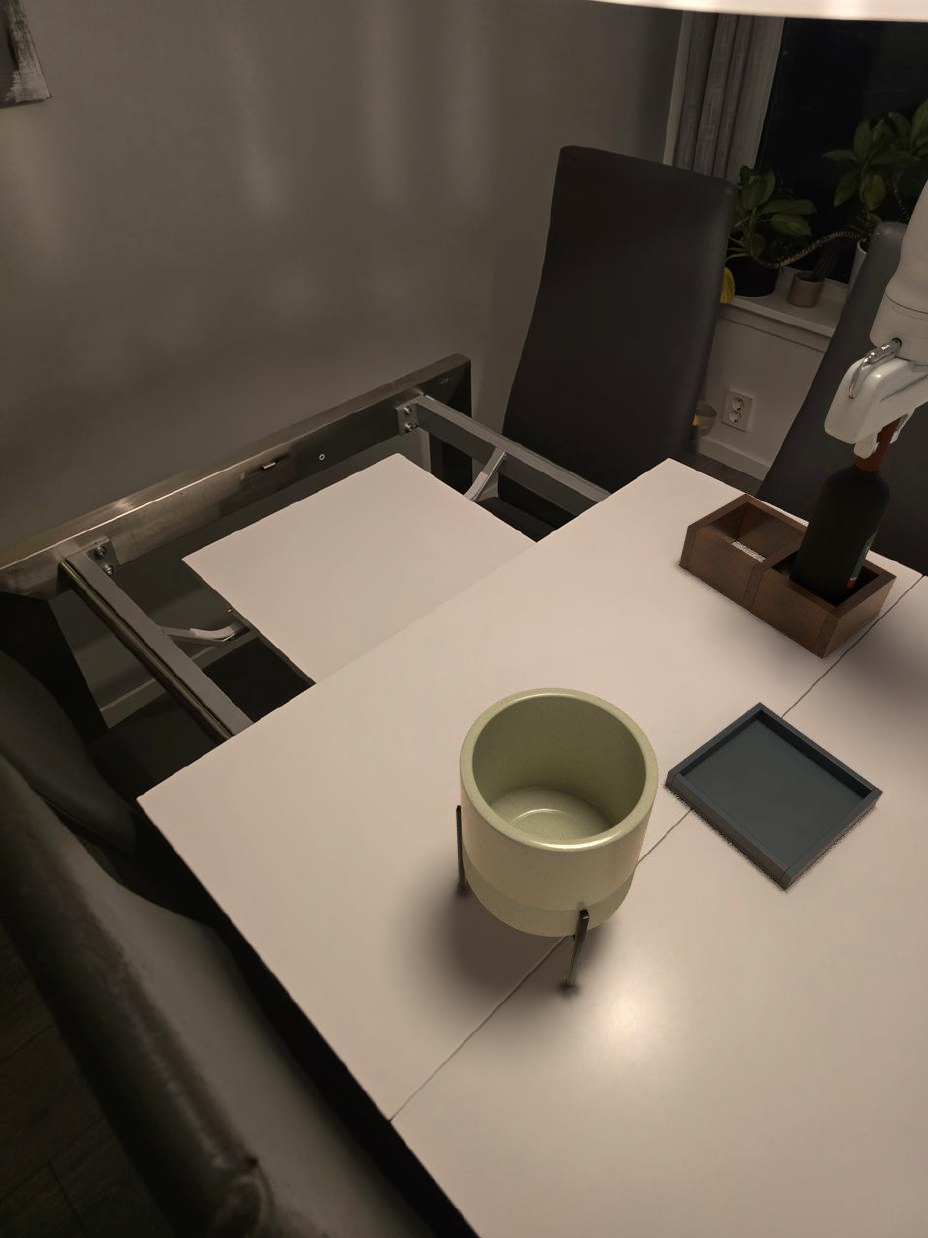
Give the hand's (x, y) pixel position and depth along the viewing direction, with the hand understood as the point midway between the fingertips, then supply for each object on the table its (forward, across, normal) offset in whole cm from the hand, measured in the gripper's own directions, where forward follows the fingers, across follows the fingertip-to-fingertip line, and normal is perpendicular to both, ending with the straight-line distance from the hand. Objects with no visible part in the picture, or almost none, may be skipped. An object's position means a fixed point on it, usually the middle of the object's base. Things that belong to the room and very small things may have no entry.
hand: (874, 447), depth 87 cm
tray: (+25, -28, -14) cm, 40 cm away
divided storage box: (+25, 0, +6) cm, 26 cm away
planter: (+25, -55, -8) cm, 61 cm away
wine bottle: (+25, 0, 0) cm, 25 cm away
